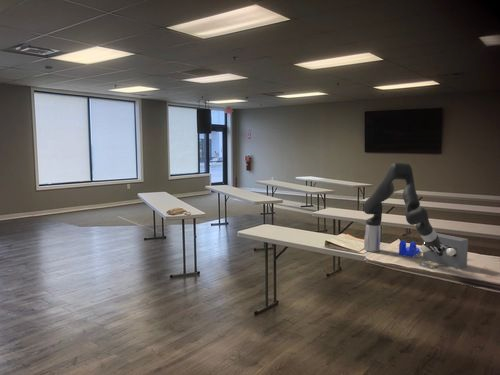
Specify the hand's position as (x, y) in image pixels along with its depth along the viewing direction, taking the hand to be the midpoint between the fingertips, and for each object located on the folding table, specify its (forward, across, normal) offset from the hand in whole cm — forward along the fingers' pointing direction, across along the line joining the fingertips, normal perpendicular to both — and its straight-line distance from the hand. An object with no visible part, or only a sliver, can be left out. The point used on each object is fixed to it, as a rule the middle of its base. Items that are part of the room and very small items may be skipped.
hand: (441, 254), depth 214 cm
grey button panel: (+17, +7, -4) cm, 19 cm away
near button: (+11, 0, -8) cm, 14 cm away
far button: (+8, +13, -5) cm, 16 cm away
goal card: (+8, +9, +5) cm, 13 cm away
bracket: (+20, +31, -7) cm, 37 cm away
